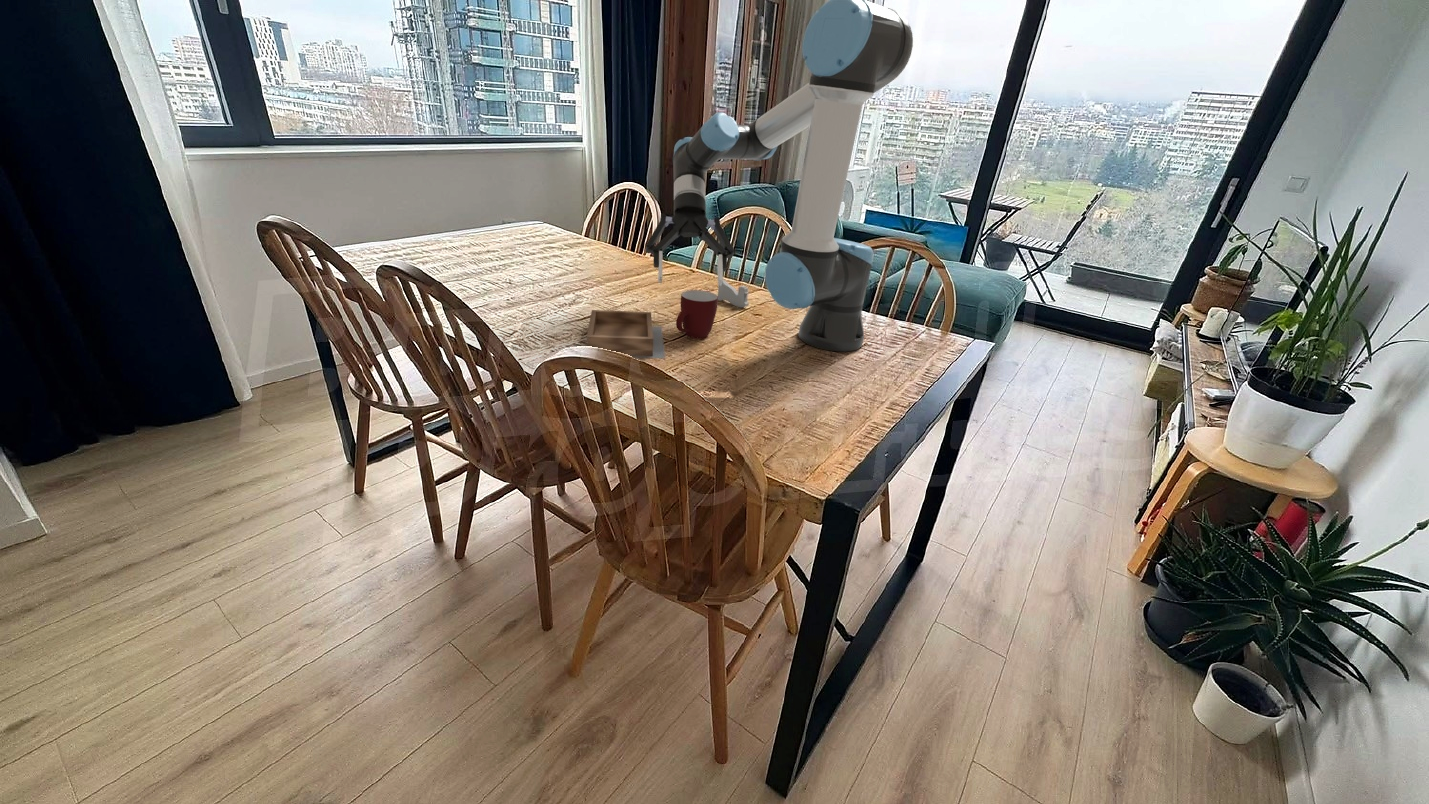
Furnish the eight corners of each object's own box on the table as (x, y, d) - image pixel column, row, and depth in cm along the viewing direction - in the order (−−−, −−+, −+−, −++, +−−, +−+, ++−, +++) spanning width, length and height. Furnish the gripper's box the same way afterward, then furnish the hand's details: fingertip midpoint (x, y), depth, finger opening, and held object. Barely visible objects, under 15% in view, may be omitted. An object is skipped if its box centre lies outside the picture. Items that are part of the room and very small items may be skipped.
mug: (694, 351, 122) (698, 306, 118) (664, 341, 126) (666, 297, 121) (720, 338, 130) (725, 296, 126) (692, 329, 134) (694, 287, 129)
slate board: (661, 330, 131) (661, 326, 131) (665, 362, 116) (665, 358, 115) (590, 328, 129) (590, 324, 128) (584, 360, 113) (584, 356, 113)
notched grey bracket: (720, 299, 157) (749, 309, 151) (717, 300, 156) (746, 310, 150) (722, 279, 154) (751, 287, 148) (719, 279, 153) (748, 288, 148)
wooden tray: (650, 327, 130) (650, 312, 128) (652, 356, 116) (653, 338, 114) (592, 325, 128) (591, 309, 126) (587, 354, 114) (586, 336, 112)
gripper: (738, 213, 140) (741, 291, 134) (636, 206, 136) (634, 286, 130) (744, 194, 133) (748, 276, 127) (636, 186, 129) (635, 270, 123)
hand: (690, 281), depth 128 cm, fingers open, 13 cm apart
